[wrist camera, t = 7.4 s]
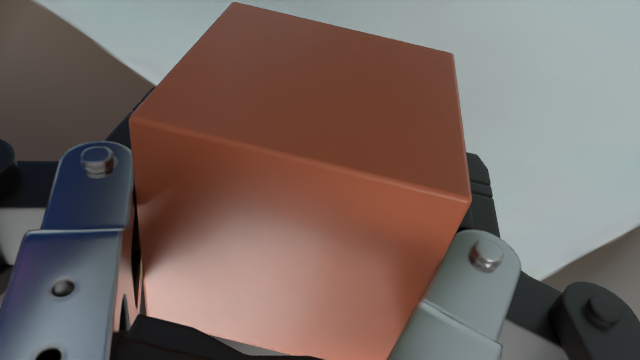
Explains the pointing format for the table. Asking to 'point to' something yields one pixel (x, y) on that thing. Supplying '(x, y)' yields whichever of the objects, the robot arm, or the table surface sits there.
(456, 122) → the block
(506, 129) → the table surface
